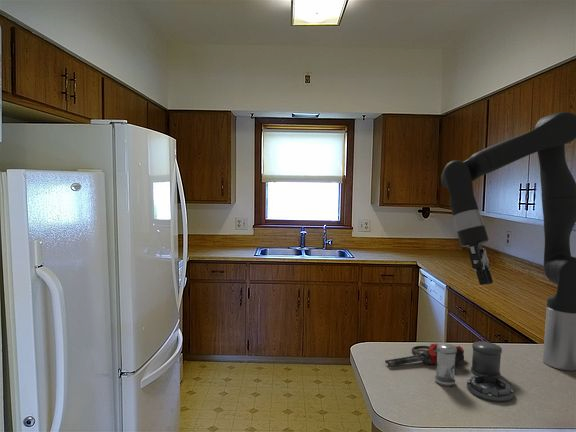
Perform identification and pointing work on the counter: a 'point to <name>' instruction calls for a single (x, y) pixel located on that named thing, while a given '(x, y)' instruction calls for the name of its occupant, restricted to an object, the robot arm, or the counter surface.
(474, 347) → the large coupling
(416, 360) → the valve
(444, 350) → the fitting
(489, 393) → the flange
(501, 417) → the counter surface
